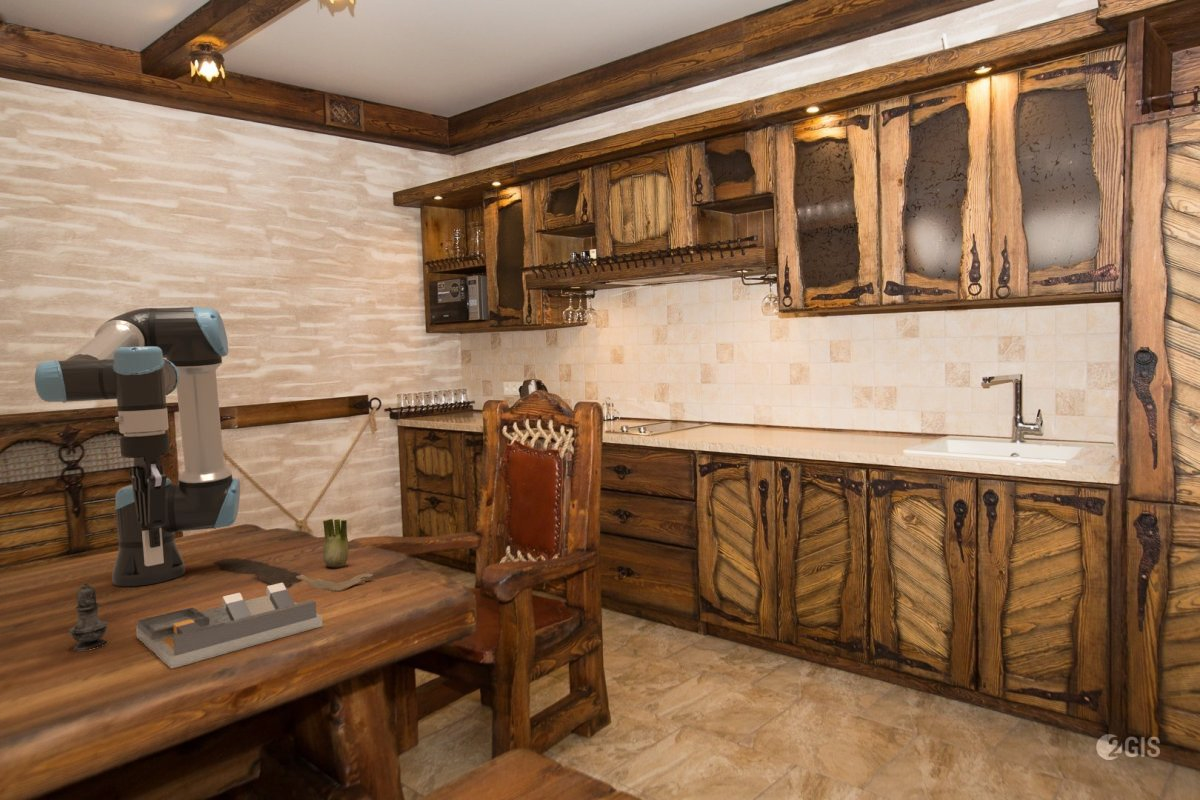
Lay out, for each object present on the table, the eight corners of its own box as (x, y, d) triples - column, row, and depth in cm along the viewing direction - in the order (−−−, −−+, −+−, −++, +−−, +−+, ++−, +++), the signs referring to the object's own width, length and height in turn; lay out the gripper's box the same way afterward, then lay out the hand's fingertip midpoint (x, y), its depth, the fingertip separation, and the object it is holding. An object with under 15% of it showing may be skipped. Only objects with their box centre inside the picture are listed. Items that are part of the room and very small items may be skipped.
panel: (136, 637, 143) (134, 611, 142) (277, 602, 161) (275, 579, 160) (171, 668, 127) (169, 639, 126) (322, 626, 145) (320, 600, 145)
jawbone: (352, 596, 166) (351, 587, 165) (272, 594, 171) (271, 585, 171) (375, 581, 174) (374, 572, 174) (298, 579, 180) (297, 570, 179)
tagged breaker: (173, 631, 137) (173, 623, 137) (191, 627, 139) (191, 619, 139) (187, 644, 131) (187, 636, 131) (206, 639, 133) (205, 631, 133)
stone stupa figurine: (90, 652, 136) (85, 586, 135) (62, 651, 137) (57, 585, 136) (117, 640, 141) (112, 576, 141) (90, 639, 143) (85, 576, 142)
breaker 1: (221, 602, 141) (222, 596, 141) (238, 598, 144) (239, 592, 143) (236, 632, 137) (237, 626, 136) (253, 627, 139) (254, 621, 138)
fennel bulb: (352, 565, 188) (349, 517, 187) (335, 570, 184) (332, 521, 183) (336, 563, 191) (333, 515, 190) (320, 568, 187) (317, 519, 186)
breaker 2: (265, 592, 147) (266, 586, 146) (281, 588, 149) (282, 582, 148) (281, 620, 142) (282, 614, 142) (297, 616, 144) (298, 610, 144)
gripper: (110, 433, 137) (120, 562, 139) (130, 437, 128) (141, 575, 130) (156, 429, 142) (165, 553, 144) (179, 433, 133) (189, 565, 135)
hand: (154, 563), depth 137 cm, fingers closed
